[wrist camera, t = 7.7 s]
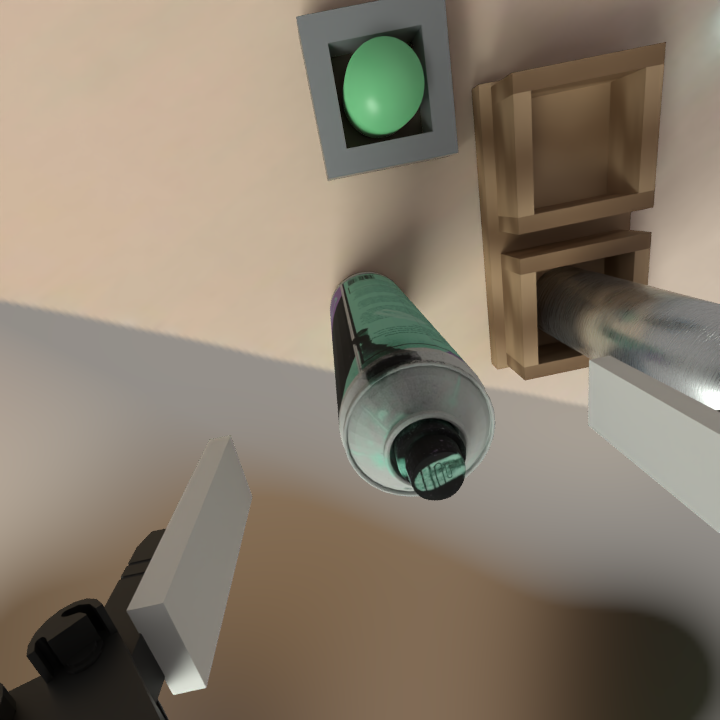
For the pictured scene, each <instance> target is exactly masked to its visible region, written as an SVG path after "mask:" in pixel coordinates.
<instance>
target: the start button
mask: <svg viewBox="0 0 720 720" xmlns="http://www.w3.org/2000/svg"><path fill="white" fill-rule="evenodd" d="M424 84H425V83H424V73H423V69H422V65H421V63H420V61H419V59H418V57H417V55H416V54H415V52H414V51H413V50H412V49H411V48H410V47H409V46H408V45H407V44H406V43H405V42H403V41H401V40H399V39H397V38H394V37H389V36H380V37H375V38H372V39H370V40H368V41H366V42H365V43H363V44H362V45H361V46H360V47H359V48H358V49H357V50H356V51H355V52H354V54H353V55H352V57H351V59H350V61H349V63H348V66H347V69H346V74H345V79H344V84H343V90H342V103H343V108H344V112H345V114H346V117H347V119H348V120H349V122H350V123H351V125H352V126H353V127H354V128H355V129H356V130H357V131H358V132H360V133H361V134H363V135H365V136H368V137H371V138H384V137H388V136H390V135H392V134H394V133H396V132H397V131H398V130H399V129H401V128H402V127H403V126H404V125H405V124H406V123H407V122H408V121H409V120H410V119H411V118H412V117H413V116H414V115H415V113H416V112H417V110H418V108H419V106H420V104H421V101H422V98H423V94H424Z"/></svg>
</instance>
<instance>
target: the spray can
mask: <svg viewBox="0 0 720 720" xmlns="http://www.w3.org/2000/svg"><path fill="white" fill-rule="evenodd" d="M330 316H331V329H332V341H333V354H334V367H335V378H336V391H337V404H338V417H339V428H340V435H341V439H342V443H343V446H344V448H345V451H346V455H347V457H348V459H349V461H350V463H351V465H352V467H353V469H354V470H355V471H356V472H357V473H358V475H359V476H360V477H361V478H362V479H364V480H365V481H366V482H367V483H369V484H370V485H371V486H373V487H375V488H377V489H379V490H381V491H384V492H387V493H391V494H394V495H400V496H420V497H422V498H424V499H428V500H443V499H446V498H449V497H451V496H452V495H454V494H455V493H456V492H457V491H458V490H459V488H460V487H461V485H462V483H463V481H464V478H466V477H467V476H468V475H469V474H470V473H472V472H473V471H474V470H475V469H476V468H477V466H478V465H479V464H480V463H481V462H482V460H483V459H484V457H485V455H486V454H487V452H488V450H489V448H490V445H491V442H492V439H493V436H494V429H495V416H494V409H493V406H492V403H491V400H490V398H489V396H488V394H487V393H486V391H485V388H484V386H483V384H482V383H481V381H480V379H479V378H478V376H477V375H476V374H475V373H474V372H473V370H472V369H471V368H470V367H469V366H468V365H467V364H466V363H465V361H464V360H463V359H462V358H461V357H460V356H459V355H458V354H457V352H456V351H455V350H454V349H453V348H452V347H451V346H450V345H449V344H448V342H447V341H446V340H445V339H444V338H443V337H442V336H441V335H440V333H439V332H438V331H437V330H436V329H435V328H434V327H433V326H432V324H431V323H430V322H429V321H428V320H427V319H426V318H425V317H424V315H423V314H422V313H421V312H420V311H419V310H418V309H417V308H416V306H415V305H414V304H413V303H412V302H411V301H410V300H409V299H408V297H407V296H406V295H405V294H404V293H403V292H402V291H401V290H400V289H399V287H398V286H397V285H396V284H395V283H394V282H393V281H392V280H390V279H389V278H387V277H386V276H384V275H381V274H379V273H374V272H361V273H357V274H354V275H352V276H350V277H348V278H347V279H345V280H344V281H343V282H342V283H341V284H340V285H339V286H338V287H337V289H336V290H335V292H334V294H333V297H332V300H331V306H330Z"/></svg>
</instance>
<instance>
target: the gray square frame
mask: <svg viewBox="0 0 720 720" xmlns="http://www.w3.org/2000/svg"><path fill="white" fill-rule="evenodd" d="M296 19H297V26H298V33H299V39H300V44H301V49H302V54H303V59H304V64H305V69H306V74H307V79H308V84H309V89H310V94H311V99H312V104H313V109H314V114H315V119H316V124H317V129H318V134H319V139H320V144H321V149H322V154H323V159H324V164H325V169H326V174H327V179H328V181H330V180H335V179H340V178H345V177H349V176H354V175H359V174H364V173H369V172H374V171H379V170H384V169H389V168H394V167H399V166H404V165H409V164H414V163H419V162H424V161H429V160H434V159H438V158H443V157H448V156H450V155H453V154H456V153H458V143H457V132H456V120H455V109H454V97H453V86H452V75H451V63H450V52H449V41H448V29H447V18H446V6H445V0H379V1H374V2H368V3H363V4H358V5H353V6H348V7H343V8H338V9H333V10H328V11H323V12H318V13H313V14H307V15H302V16H297V17H296ZM380 36H389V37H394V38H397V39H399V40H401V41H403V42H405V43H406V42H411V41H412V45H413V51H414V52H415V54H416V55H417V57H418V59H419V61H420V63H421V65H422V69H423V73H424V83H425V84H424V94H423V98H422V101H421V104H420V114H421V123H422V131H423V134H418V135H413V136H408V137H403V138H398V139H393V140H388V141H383V142H378V143H373V144H368V145H363V146H358V147H353V148H348V149H347V148H346V142H345V137H344V131H343V125H342V120H341V114H340V109H339V103H338V97H337V92H336V86H335V81H334V75H333V69H332V64H331V58H330V57H335V56H340V55H345V54H350V53H354V52H355V51H356V50H357V49H358V48H359V47H360V46H361V45H362V44H363V43H365V42H366V41H368V40H370V39H372V38H375V37H380Z"/></svg>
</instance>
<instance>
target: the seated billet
mask: <svg viewBox="0 0 720 720" xmlns="http://www.w3.org/2000/svg"><path fill="white" fill-rule="evenodd" d="M536 294H537V328H539V329H540V330H542V331H544V332H545V333H547V334H549V335H551V336H552V337H554V338H556V339H557V340H559V341H561V342H562V343H564V344H566V345H568V346H569V347H571V348H573V349H574V350H576V351H578V352H580V353H581V354H583V355H585V356H586V357H588V358H590V359H595V358H600V357H605V356H609V355H610V356H612V357H614V358H616V359H618V360H620V361H622V362H623V363H625V364H627V365H629V366H631V367H633V368H635V369H637V370H639V371H641V372H643V373H645V374H647V375H649V376H651V377H652V378H654V379H656V380H658V381H660V382H662V383H664V384H666V385H668V386H670V387H672V388H674V389H676V390H678V391H680V392H682V393H683V394H685V395H687V396H689V397H691V398H693V399H695V400H697V401H699V402H701V403H703V404H705V405H707V406H709V407H711V408H712V409H714V410H719V409H720V304H717V303H713V302H709V301H705V300H702V299H698V298H694V297H690V296H686V295H682V294H678V293H675V292H671V291H667V290H663V289H659V288H655V287H651V286H647V285H644V284H640V283H636V282H632V281H628V280H624V279H620V278H617V277H613V276H609V275H605V274H601V273H597V272H593V271H589V270H586V269H582V268H578V267H574V266H562V267H557V268H554V269H551V270H549V271H548V272H546V273H545V274H543V275H542V276H541V277H540V278H539V279H538V280H537V281H536Z"/></svg>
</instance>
